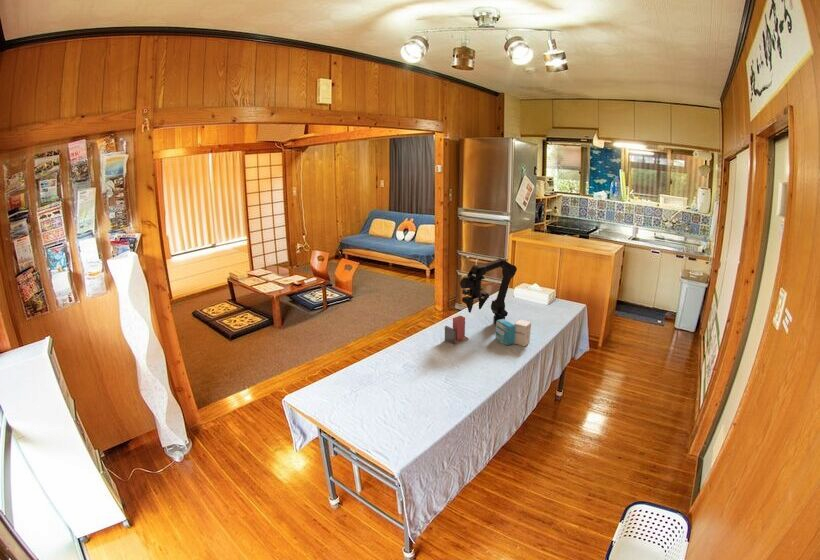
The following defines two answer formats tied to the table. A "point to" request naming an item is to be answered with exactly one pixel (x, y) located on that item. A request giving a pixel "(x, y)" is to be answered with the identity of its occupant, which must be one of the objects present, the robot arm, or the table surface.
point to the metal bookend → (450, 335)
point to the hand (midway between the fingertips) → (474, 310)
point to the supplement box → (522, 332)
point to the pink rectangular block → (459, 326)
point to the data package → (505, 331)
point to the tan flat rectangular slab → (461, 340)
